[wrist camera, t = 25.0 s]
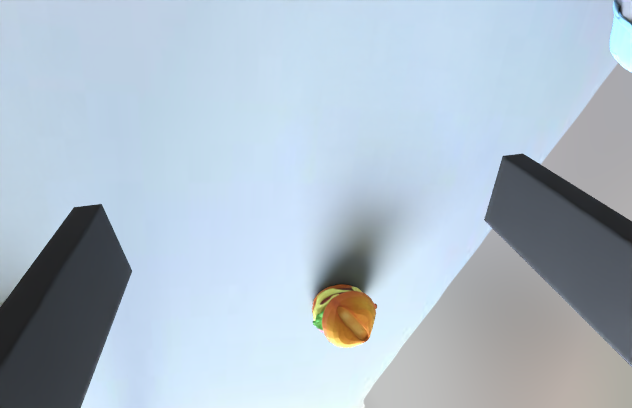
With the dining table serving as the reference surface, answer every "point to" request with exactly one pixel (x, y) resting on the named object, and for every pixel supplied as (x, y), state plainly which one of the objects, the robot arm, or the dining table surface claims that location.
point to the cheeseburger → (344, 315)
